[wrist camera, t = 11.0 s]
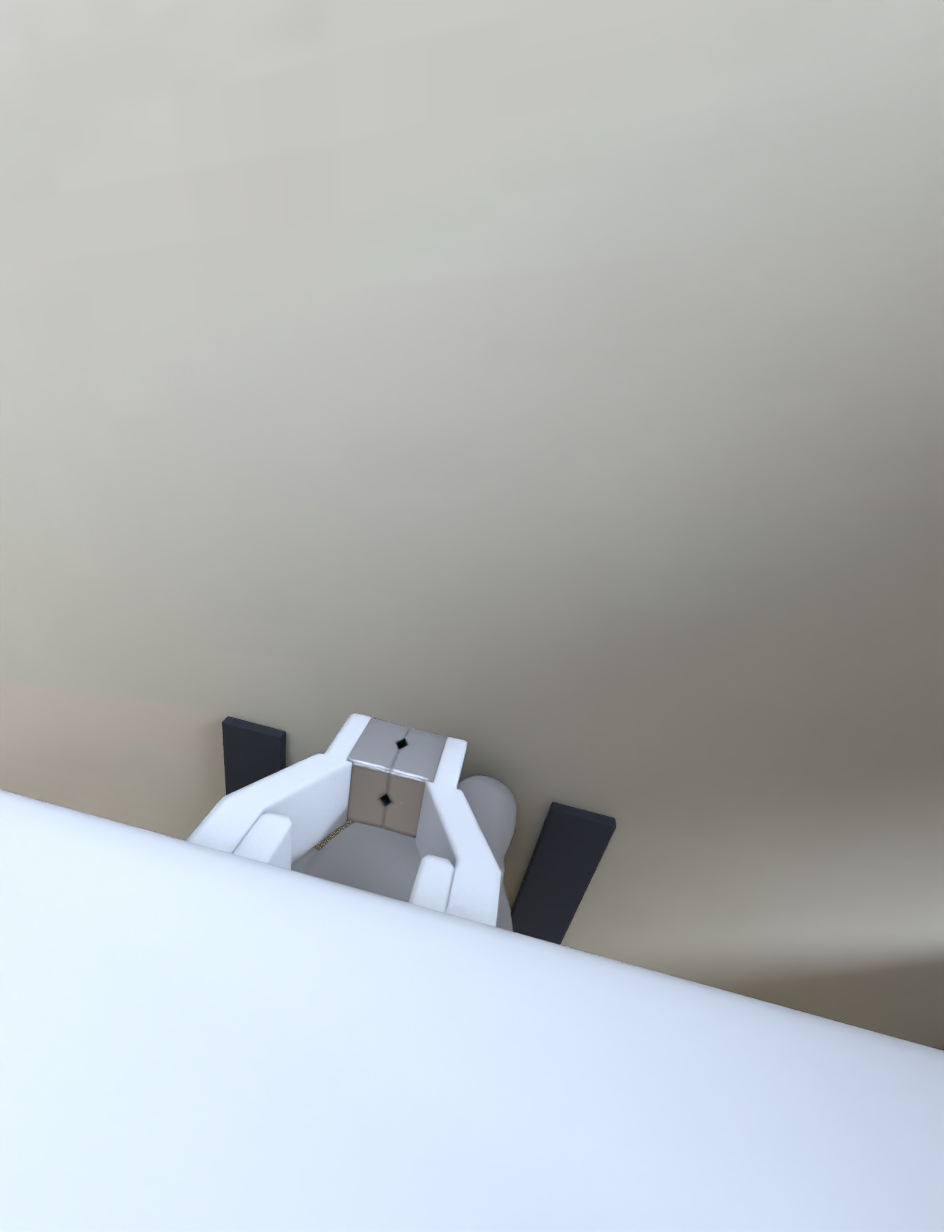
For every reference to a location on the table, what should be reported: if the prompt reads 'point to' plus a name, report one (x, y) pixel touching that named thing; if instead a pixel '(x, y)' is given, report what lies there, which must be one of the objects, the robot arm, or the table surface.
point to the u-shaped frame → (552, 871)
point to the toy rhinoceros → (412, 848)
